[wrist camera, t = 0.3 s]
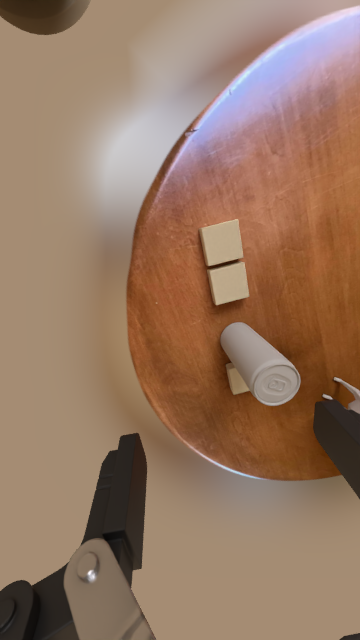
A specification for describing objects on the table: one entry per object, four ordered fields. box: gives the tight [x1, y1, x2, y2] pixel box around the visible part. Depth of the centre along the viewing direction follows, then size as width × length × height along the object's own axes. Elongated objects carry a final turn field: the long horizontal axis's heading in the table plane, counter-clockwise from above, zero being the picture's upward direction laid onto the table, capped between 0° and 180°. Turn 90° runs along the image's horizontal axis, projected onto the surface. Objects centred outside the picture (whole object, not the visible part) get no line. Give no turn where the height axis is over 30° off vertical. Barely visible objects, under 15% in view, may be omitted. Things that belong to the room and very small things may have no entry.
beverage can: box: [220, 322, 300, 406], centre depth 28 cm, size 5×5×12 cm
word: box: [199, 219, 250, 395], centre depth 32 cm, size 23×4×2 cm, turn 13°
